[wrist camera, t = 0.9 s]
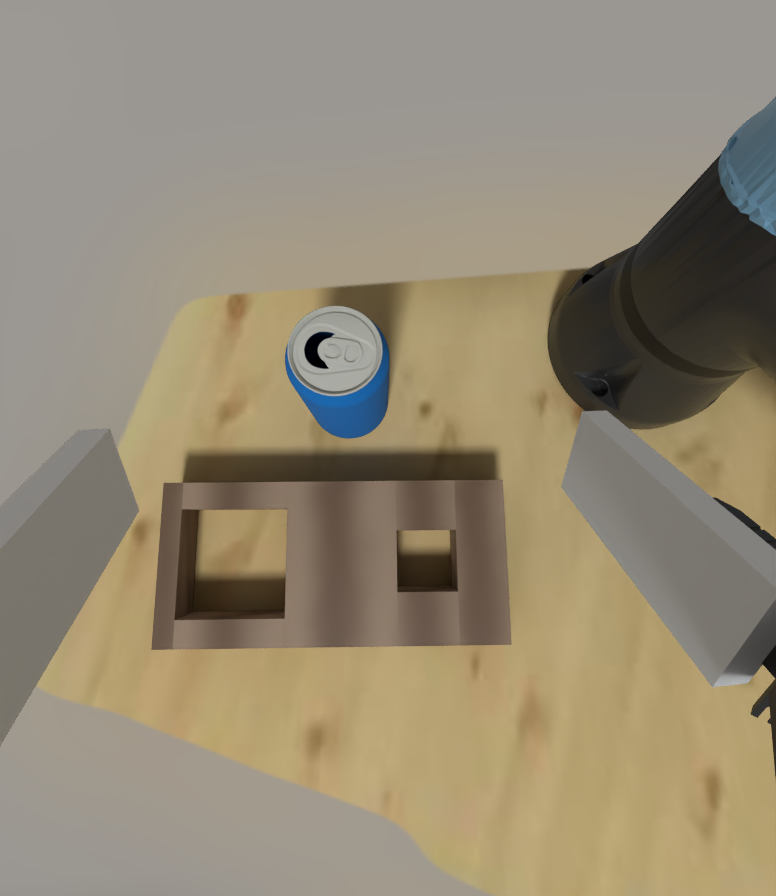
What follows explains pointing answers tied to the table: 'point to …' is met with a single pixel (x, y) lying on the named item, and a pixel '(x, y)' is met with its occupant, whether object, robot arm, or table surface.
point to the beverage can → (340, 369)
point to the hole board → (344, 566)
